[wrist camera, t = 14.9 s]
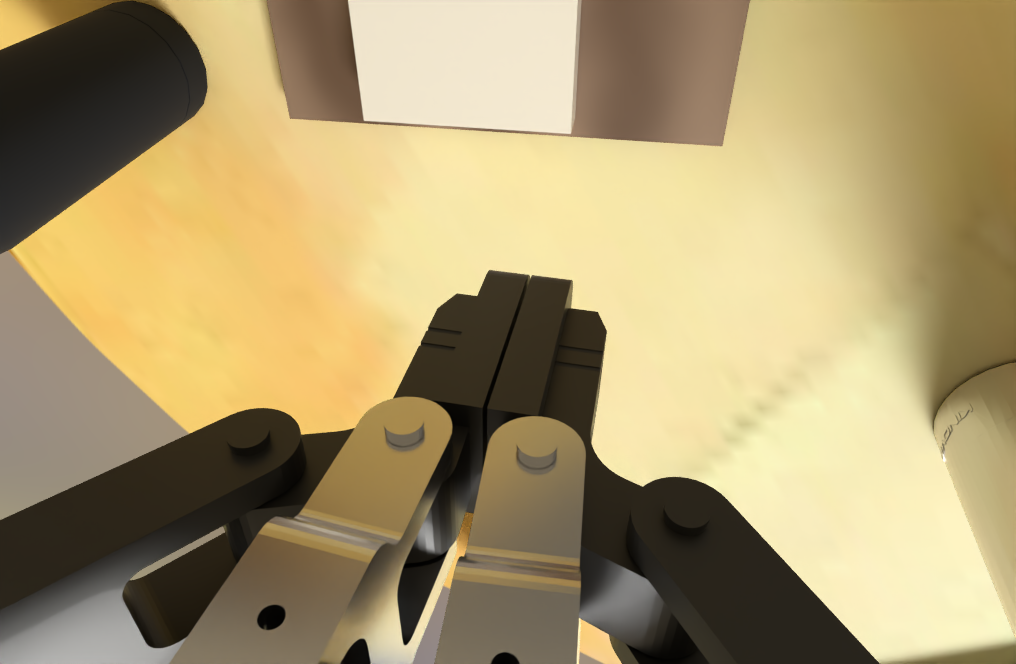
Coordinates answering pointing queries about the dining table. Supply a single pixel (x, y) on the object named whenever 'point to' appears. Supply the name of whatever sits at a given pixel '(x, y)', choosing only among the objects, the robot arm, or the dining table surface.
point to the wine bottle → (88, 107)
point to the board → (601, 67)
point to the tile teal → (468, 62)
